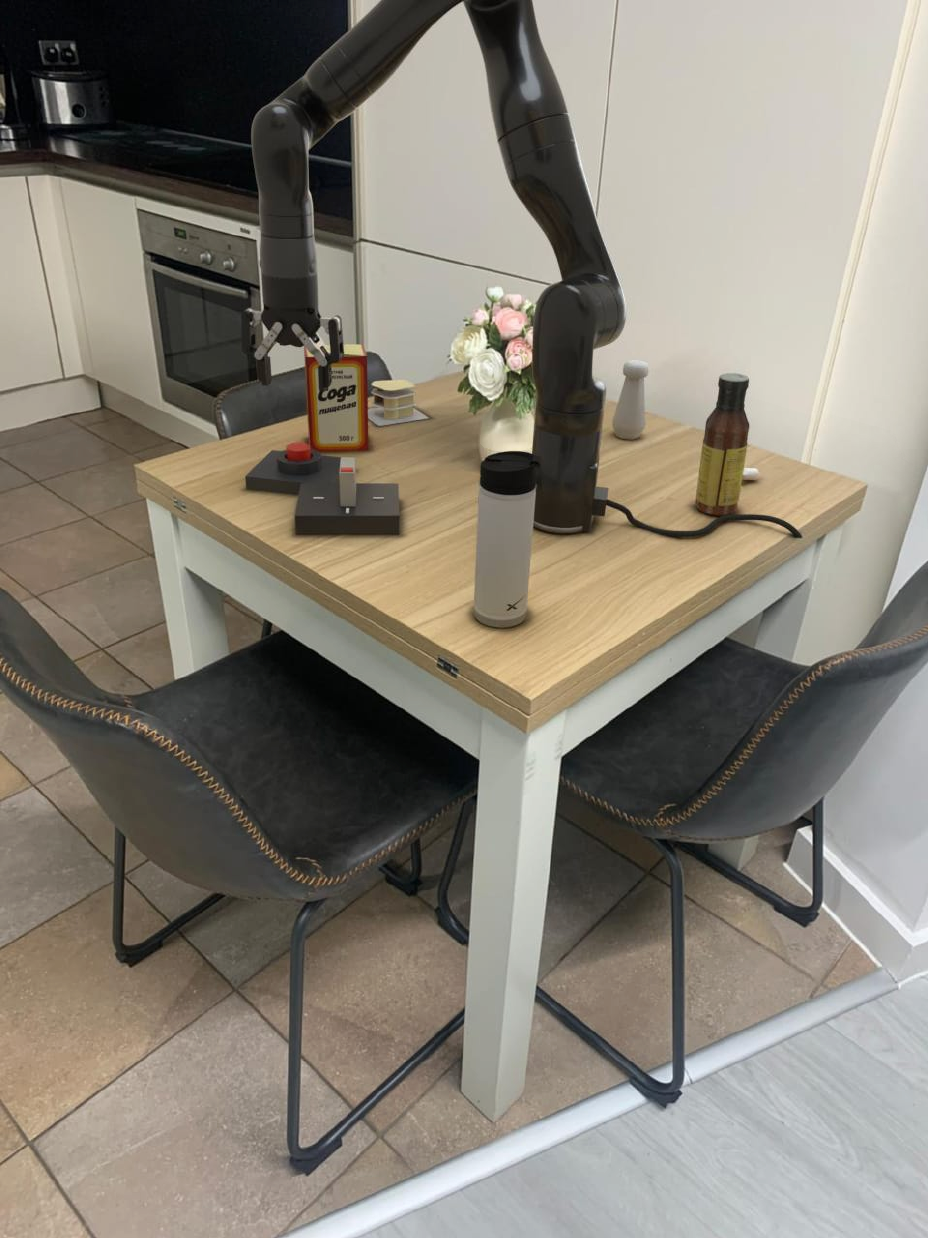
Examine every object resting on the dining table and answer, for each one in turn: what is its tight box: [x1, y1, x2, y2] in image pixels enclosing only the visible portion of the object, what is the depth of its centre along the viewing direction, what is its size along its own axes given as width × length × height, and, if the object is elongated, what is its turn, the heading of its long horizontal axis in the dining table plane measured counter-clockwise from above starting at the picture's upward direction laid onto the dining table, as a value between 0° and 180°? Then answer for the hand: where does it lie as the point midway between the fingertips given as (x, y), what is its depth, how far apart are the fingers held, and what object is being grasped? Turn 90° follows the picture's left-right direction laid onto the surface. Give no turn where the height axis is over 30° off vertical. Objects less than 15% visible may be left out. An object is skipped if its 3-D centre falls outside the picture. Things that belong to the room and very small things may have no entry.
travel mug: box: [473, 450, 541, 629], centre depth 107 cm, size 6×7×20 cm
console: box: [294, 482, 400, 536], centre depth 133 cm, size 14×11×3 cm
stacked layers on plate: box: [368, 379, 429, 427], centre depth 170 cm, size 10×9×6 cm
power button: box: [285, 442, 311, 461], centre depth 142 cm, size 4×4×2 cm
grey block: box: [339, 456, 357, 506], centre depth 131 cm, size 6×2×5 cm, turn 4°
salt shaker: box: [611, 359, 650, 441], centre depth 163 cm, size 6×6×13 cm
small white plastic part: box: [742, 466, 760, 481], centre depth 149 cm, size 4×6×3 cm, turn 89°
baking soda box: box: [303, 343, 370, 453], centre depth 154 cm, size 10×6×16 cm
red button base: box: [244, 449, 342, 496], centre depth 143 cm, size 13×11×4 cm
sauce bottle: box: [695, 372, 750, 517], centre depth 136 cm, size 6×6×20 cm
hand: (294, 386), depth 136 cm, fingers open, 8 cm apart
